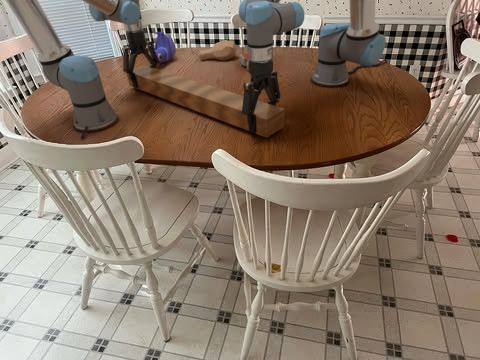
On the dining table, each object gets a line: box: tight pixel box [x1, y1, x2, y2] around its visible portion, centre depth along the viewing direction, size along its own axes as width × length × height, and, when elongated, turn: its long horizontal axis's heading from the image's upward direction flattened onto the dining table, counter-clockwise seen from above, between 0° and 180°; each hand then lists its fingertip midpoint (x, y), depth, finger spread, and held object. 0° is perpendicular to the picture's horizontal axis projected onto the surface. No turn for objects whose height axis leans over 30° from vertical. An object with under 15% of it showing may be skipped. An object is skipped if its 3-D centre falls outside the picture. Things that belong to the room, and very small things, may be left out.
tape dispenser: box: [239, 53, 249, 71], centre depth 171 cm, size 18×5×20 cm
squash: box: [198, 39, 238, 61], centre depth 185 cm, size 11×20×9 cm, turn 92°
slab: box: [126, 64, 286, 139], centre depth 137 cm, size 78×9×7 cm, turn 48°
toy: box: [149, 31, 177, 69], centre depth 182 cm, size 10×17×25 cm
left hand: (145, 83), depth 158 cm, fingers closed on slab, 9 cm apart
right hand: (262, 125), depth 120 cm, fingers closed on slab, 9 cm apart
